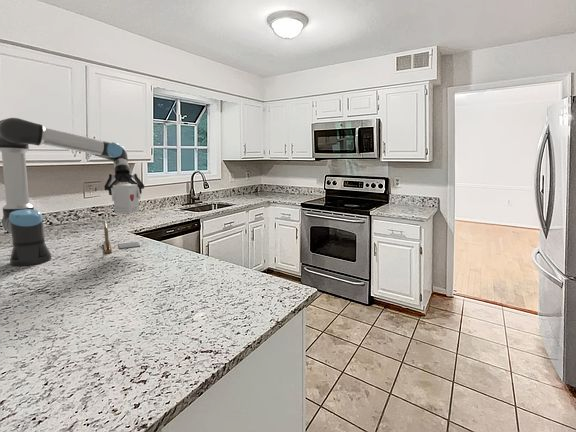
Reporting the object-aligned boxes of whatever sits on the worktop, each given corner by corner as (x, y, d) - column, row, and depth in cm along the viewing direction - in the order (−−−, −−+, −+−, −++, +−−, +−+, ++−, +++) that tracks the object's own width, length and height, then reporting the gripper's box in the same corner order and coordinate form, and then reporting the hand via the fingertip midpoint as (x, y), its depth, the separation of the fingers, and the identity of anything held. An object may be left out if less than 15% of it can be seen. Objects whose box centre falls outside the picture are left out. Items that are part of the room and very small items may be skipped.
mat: (119, 249, 178) (119, 247, 177) (118, 244, 186) (118, 243, 186) (140, 246, 183) (140, 245, 182) (138, 242, 191) (137, 241, 191)
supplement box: (130, 214, 176) (127, 185, 173) (114, 213, 177) (111, 185, 174) (140, 211, 184) (137, 184, 182) (124, 211, 186) (122, 184, 183)
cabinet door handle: (105, 253, 169) (102, 224, 167) (103, 244, 188) (101, 218, 185) (111, 252, 170) (109, 224, 168) (109, 243, 189) (107, 217, 187)
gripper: (144, 173, 197) (150, 201, 187) (97, 173, 185) (100, 204, 175) (145, 163, 192) (151, 192, 181) (96, 164, 180) (100, 195, 169)
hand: (126, 198), depth 178 cm, fingers closed on supplement box, 12 cm apart
